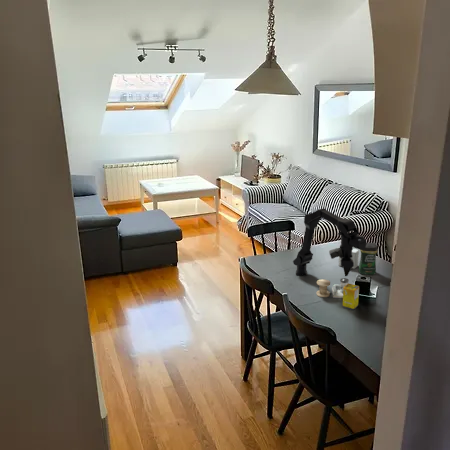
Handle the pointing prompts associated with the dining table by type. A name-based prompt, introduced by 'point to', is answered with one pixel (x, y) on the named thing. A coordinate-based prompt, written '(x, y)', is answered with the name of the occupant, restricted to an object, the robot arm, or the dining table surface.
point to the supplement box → (350, 296)
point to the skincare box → (353, 258)
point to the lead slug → (343, 284)
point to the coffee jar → (368, 259)
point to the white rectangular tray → (337, 291)
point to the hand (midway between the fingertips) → (345, 272)
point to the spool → (323, 288)
